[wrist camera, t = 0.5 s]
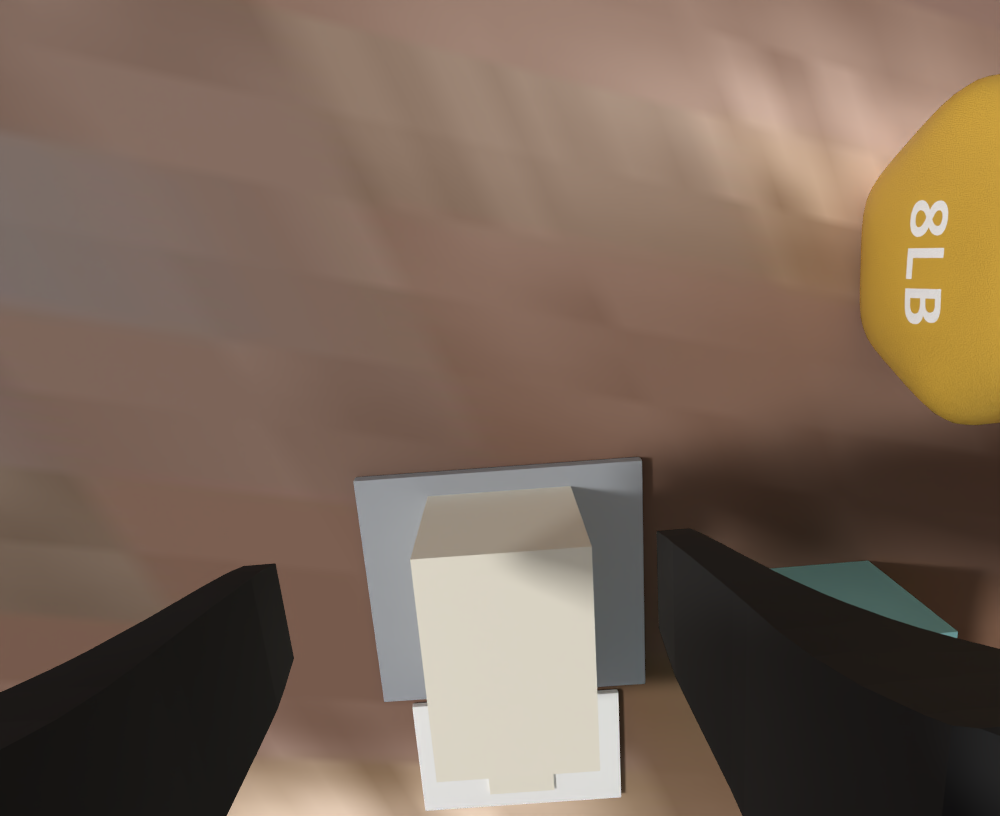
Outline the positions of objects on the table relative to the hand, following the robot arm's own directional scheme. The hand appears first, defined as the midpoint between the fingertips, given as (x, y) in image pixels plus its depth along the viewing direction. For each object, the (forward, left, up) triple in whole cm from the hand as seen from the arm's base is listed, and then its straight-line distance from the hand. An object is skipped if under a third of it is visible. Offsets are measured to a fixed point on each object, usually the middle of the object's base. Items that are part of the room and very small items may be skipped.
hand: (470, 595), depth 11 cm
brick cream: (-5, -1, -9) cm, 11 cm away
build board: (-5, -1, -10) cm, 11 cm away
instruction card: (-13, -1, -10) cm, 16 cm away
